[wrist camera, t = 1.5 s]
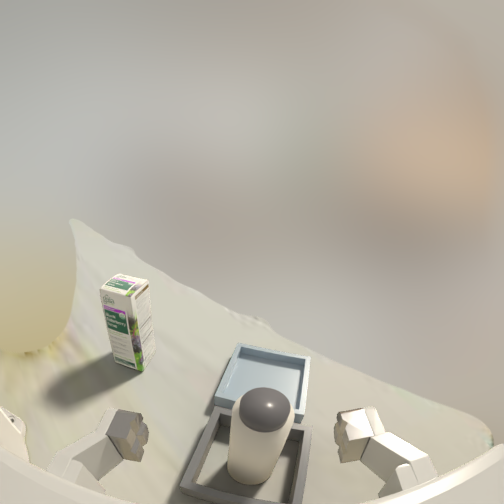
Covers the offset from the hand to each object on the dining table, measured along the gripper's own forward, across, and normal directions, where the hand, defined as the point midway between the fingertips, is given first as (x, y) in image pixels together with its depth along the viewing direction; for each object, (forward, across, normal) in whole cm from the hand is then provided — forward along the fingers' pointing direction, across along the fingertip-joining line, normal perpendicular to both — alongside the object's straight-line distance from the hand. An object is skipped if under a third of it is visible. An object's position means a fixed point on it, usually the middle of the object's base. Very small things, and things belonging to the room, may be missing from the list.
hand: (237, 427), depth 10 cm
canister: (+11, +1, +23) cm, 26 cm away
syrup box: (+29, +20, +19) cm, 40 cm away
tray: (+26, -2, +22) cm, 34 cm away
